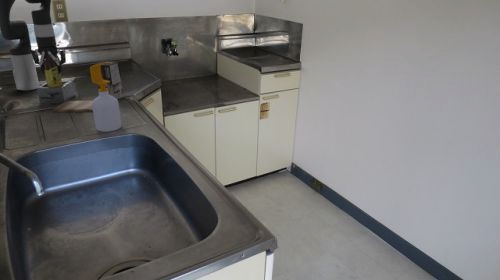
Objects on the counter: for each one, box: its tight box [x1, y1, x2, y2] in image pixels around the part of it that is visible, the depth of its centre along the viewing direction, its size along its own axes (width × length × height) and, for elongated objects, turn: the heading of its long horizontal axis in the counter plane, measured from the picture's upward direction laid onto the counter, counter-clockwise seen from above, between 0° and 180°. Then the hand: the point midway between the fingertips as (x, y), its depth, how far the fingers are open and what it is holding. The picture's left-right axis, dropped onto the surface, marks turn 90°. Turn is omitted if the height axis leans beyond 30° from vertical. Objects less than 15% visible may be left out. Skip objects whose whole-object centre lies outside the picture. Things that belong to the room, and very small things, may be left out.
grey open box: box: [36, 80, 76, 104], centre depth 173 cm, size 11×16×7 cm
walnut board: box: [54, 100, 93, 113], centre depth 165 cm, size 16×12×1 cm
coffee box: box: [94, 60, 125, 100], centre depth 176 cm, size 9×6×16 cm
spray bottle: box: [89, 61, 122, 133], centre depth 139 cm, size 9×9×25 cm
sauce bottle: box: [44, 48, 63, 87], centre depth 171 cm, size 7×6×20 cm
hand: (52, 73), depth 171 cm, fingers closed on sauce bottle, 6 cm apart
